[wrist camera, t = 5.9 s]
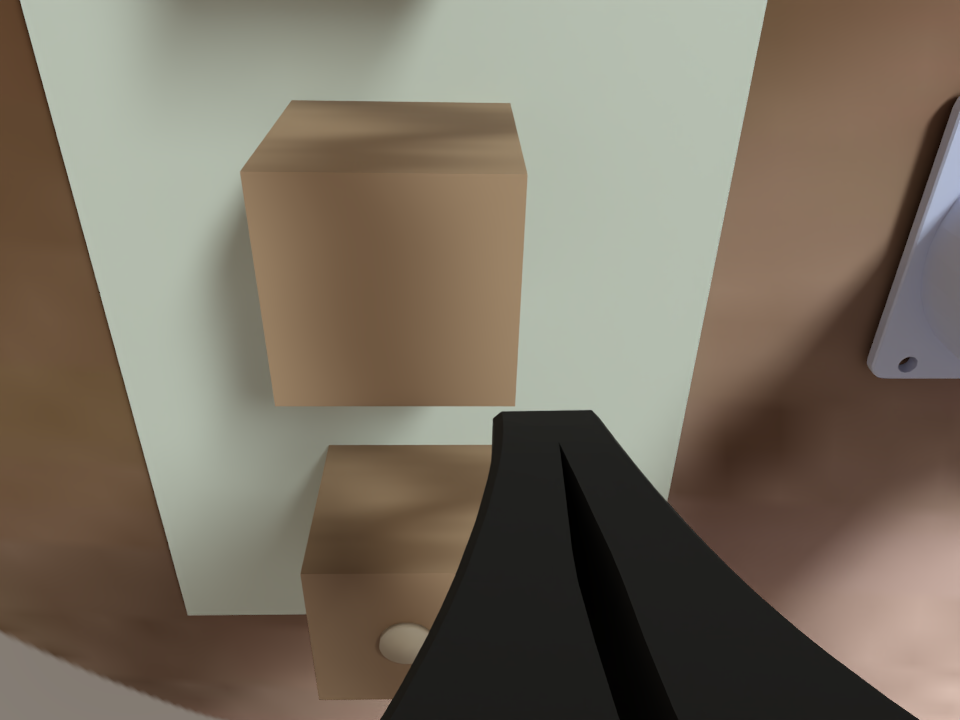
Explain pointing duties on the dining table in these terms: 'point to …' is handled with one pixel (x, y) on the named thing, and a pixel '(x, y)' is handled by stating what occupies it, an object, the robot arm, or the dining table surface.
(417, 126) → the plain block
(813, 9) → the dining table surface
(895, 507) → the dining table surface
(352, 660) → the one dot block
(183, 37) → the sage mat
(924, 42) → the dining table surface
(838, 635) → the dining table surface
